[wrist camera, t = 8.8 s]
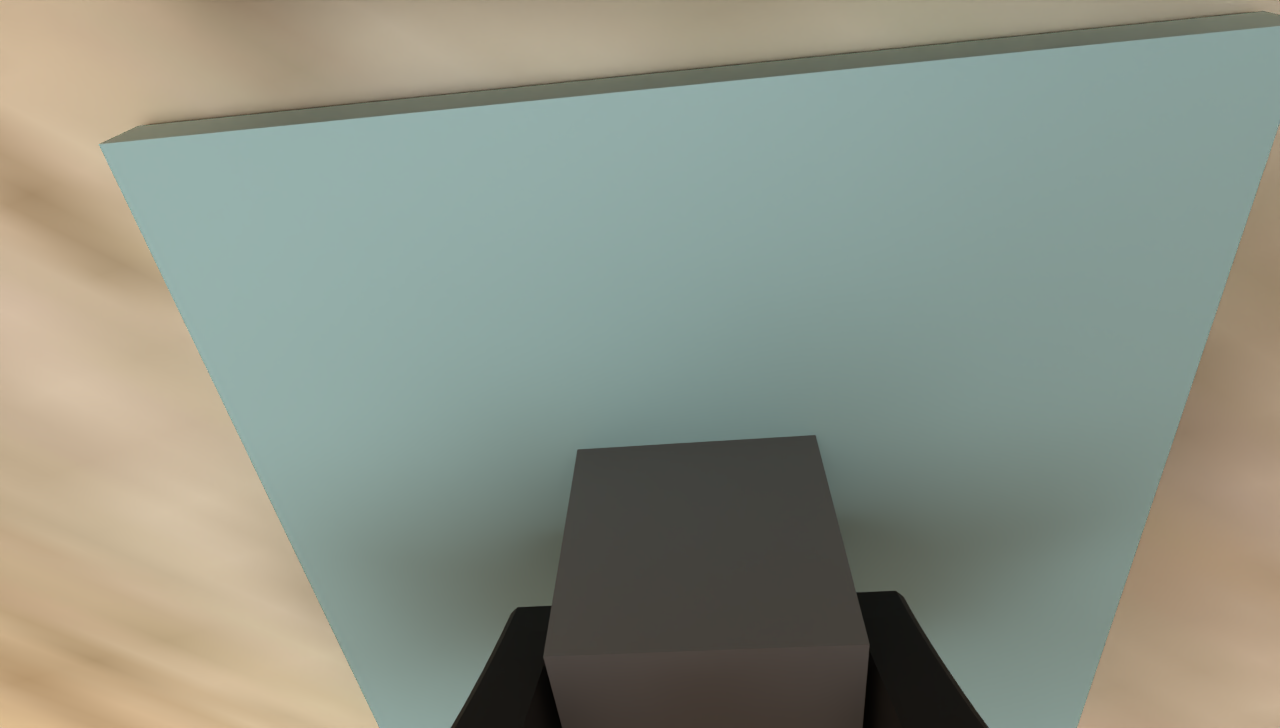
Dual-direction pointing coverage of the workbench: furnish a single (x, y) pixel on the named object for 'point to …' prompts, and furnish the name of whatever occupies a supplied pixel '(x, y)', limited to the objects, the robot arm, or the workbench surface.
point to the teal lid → (724, 358)
